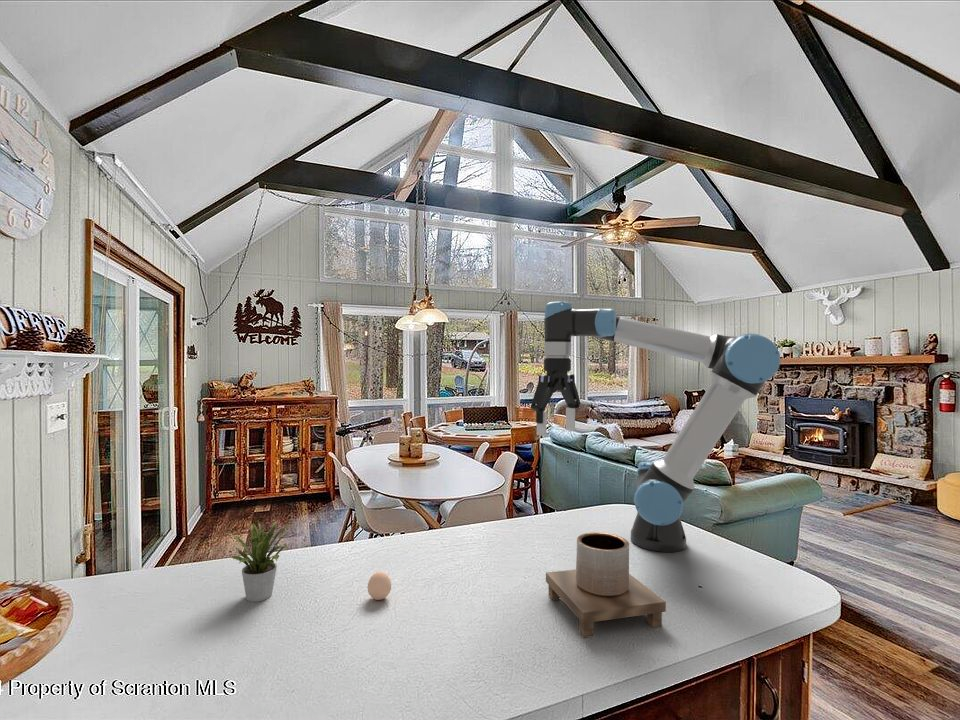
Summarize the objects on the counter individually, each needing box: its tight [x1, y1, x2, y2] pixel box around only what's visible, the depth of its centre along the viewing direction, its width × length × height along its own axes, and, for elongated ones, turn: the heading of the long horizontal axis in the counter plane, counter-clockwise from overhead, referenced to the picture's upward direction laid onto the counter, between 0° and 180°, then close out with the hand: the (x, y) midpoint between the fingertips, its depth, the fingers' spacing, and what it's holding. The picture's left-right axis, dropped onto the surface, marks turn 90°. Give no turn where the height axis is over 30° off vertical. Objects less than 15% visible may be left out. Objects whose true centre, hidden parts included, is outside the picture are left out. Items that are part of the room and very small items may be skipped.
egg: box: [367, 570, 392, 601], centre depth 110 cm, size 5×5×6 cm
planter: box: [575, 531, 630, 597], centre depth 106 cm, size 11×11×10 cm
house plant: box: [226, 519, 296, 603], centre depth 110 cm, size 14×14×16 cm
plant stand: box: [545, 568, 667, 638], centre depth 106 cm, size 18×18×5 cm
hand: (556, 432), depth 142 cm, fingers open, 13 cm apart
